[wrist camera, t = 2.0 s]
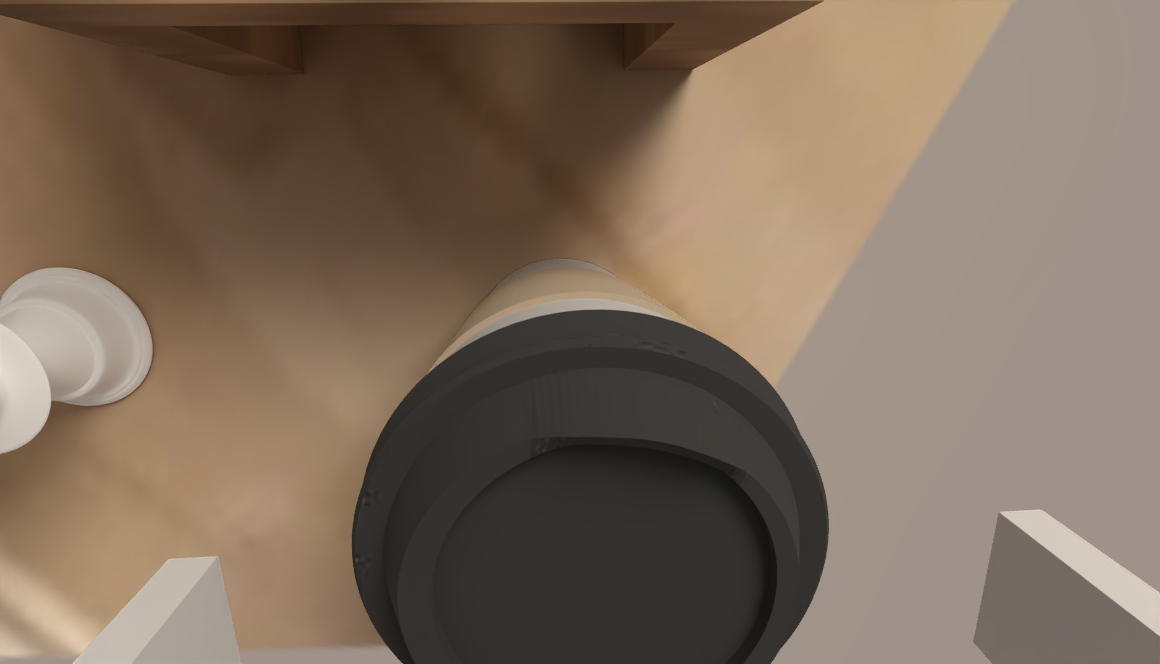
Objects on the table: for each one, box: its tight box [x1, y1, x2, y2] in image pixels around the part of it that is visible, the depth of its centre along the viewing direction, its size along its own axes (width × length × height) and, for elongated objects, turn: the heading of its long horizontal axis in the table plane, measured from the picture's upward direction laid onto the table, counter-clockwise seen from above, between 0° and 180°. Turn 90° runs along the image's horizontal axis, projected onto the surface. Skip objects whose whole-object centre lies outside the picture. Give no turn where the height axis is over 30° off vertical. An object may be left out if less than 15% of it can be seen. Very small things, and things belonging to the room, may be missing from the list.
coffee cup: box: [352, 259, 829, 664], centre depth 17 cm, size 9×9×15 cm
